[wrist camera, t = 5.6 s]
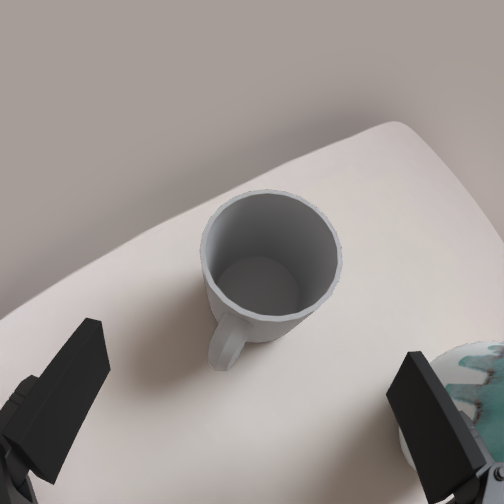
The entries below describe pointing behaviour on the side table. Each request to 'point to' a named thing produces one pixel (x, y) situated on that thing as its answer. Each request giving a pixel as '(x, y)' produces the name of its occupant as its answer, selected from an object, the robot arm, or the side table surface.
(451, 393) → the vase
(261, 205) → the cup
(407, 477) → the side table surface
